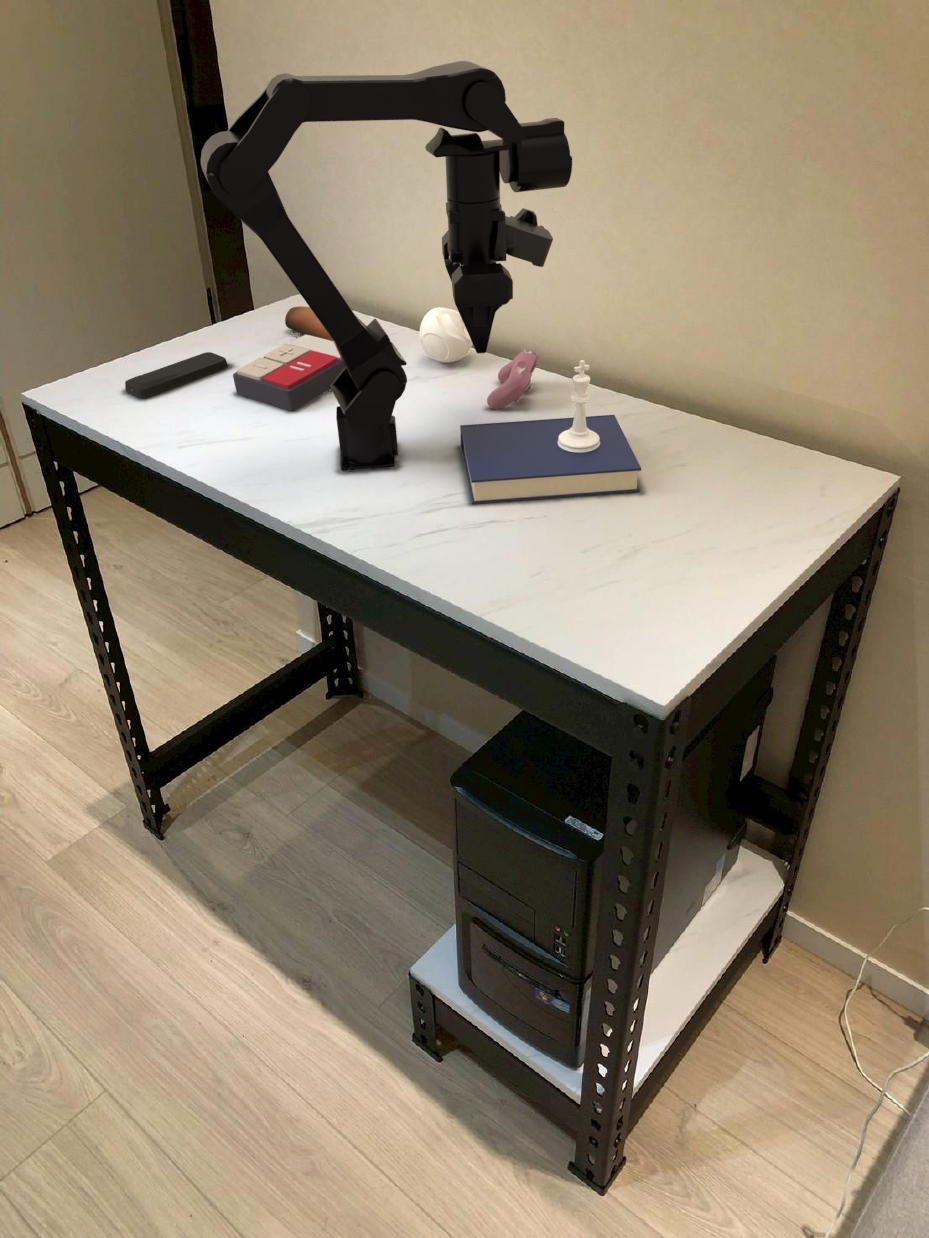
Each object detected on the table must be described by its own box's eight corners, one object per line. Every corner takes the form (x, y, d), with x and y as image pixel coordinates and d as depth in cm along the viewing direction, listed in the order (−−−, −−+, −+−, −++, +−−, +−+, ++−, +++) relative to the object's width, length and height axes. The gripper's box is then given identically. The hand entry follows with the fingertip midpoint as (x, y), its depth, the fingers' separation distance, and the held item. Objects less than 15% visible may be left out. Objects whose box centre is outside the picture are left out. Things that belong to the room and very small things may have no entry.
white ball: (472, 370, 140) (471, 317, 135) (419, 372, 140) (416, 319, 135) (473, 349, 146) (471, 298, 142) (422, 351, 146) (419, 299, 142)
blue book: (472, 504, 110) (471, 480, 108) (460, 447, 121) (460, 425, 119) (639, 491, 111) (641, 468, 109) (612, 436, 122) (614, 414, 120)
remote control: (211, 362, 147) (122, 390, 138) (209, 350, 146) (120, 378, 137) (231, 370, 144) (142, 399, 135) (229, 358, 143) (139, 387, 134)
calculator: (229, 369, 134) (305, 329, 143) (236, 398, 136) (309, 357, 145) (287, 386, 128) (362, 344, 137) (293, 416, 131) (365, 372, 140)
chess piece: (550, 439, 115) (551, 357, 109) (586, 430, 117) (590, 349, 111) (570, 456, 112) (573, 373, 106) (607, 447, 113) (613, 364, 107)
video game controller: (513, 422, 129) (538, 379, 125) (483, 406, 129) (506, 362, 125) (525, 392, 137) (548, 350, 133) (496, 376, 137) (518, 334, 132)
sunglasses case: (394, 345, 147) (372, 313, 142) (363, 379, 146) (340, 348, 141) (329, 315, 159) (307, 284, 154) (300, 346, 158) (277, 316, 153)
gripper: (562, 215, 98) (558, 364, 108) (534, 173, 113) (533, 306, 123) (452, 221, 98) (457, 370, 107) (438, 178, 113) (444, 312, 122)
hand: (477, 338), depth 115 cm, fingers open, 9 cm apart
